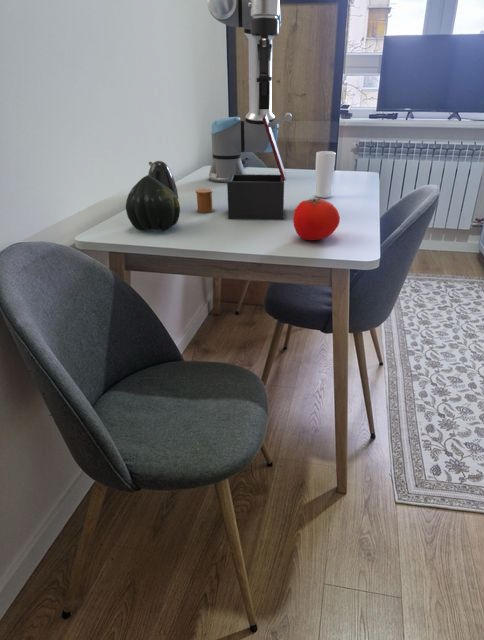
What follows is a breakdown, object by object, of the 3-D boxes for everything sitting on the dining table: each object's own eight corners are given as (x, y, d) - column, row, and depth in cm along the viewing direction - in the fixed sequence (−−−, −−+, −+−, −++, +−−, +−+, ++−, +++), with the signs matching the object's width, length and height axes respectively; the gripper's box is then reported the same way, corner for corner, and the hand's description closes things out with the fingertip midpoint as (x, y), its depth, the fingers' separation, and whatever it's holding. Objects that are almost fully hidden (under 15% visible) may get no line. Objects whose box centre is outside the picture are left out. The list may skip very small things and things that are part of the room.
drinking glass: (331, 199, 169) (335, 154, 162) (312, 198, 170) (315, 153, 163) (333, 194, 175) (336, 151, 167) (314, 194, 176) (317, 150, 168)
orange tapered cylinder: (198, 208, 158) (196, 188, 154) (214, 209, 157) (213, 188, 154) (195, 213, 153) (194, 192, 150) (212, 213, 153) (211, 192, 149)
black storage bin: (228, 218, 147) (227, 181, 141) (232, 209, 157) (230, 174, 152) (283, 219, 147) (284, 182, 141) (283, 209, 157) (284, 174, 151)
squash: (159, 220, 125) (171, 169, 128) (110, 218, 130) (122, 168, 132) (181, 243, 139) (191, 196, 142) (136, 240, 143) (146, 195, 146)
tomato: (304, 229, 138) (306, 191, 132) (344, 235, 132) (348, 197, 127) (282, 241, 128) (283, 201, 122) (325, 249, 122) (327, 207, 117)
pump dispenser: (167, 204, 163) (162, 156, 155) (185, 209, 156) (181, 160, 148) (141, 209, 156) (135, 160, 149) (159, 215, 150) (153, 164, 142)
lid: (262, 118, 132) (289, 107, 131) (263, 115, 143) (288, 105, 141) (282, 181, 141) (308, 171, 139) (282, 173, 151) (306, 164, 149)
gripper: (252, 22, 137) (252, 104, 148) (248, 13, 115) (249, 110, 126) (278, 22, 137) (277, 104, 148) (279, 13, 115) (277, 110, 126)
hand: (264, 107), depth 137 cm, fingers open, 13 cm apart
